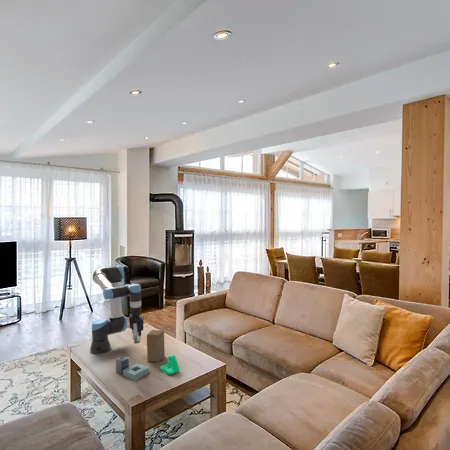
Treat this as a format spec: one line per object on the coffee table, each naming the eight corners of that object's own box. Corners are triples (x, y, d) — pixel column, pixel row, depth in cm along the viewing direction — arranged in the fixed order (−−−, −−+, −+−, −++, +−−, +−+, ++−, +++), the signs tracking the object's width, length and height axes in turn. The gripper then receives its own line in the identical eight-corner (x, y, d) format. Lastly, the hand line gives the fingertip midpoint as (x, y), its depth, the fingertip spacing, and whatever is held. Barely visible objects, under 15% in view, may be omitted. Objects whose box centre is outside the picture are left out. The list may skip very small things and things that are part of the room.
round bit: (132, 342, 227) (132, 323, 226) (137, 340, 230) (136, 321, 230) (136, 344, 225) (136, 324, 224) (141, 342, 228) (140, 322, 227)
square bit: (116, 372, 220) (115, 359, 219) (123, 368, 225) (123, 356, 224) (121, 374, 216) (121, 361, 216) (129, 371, 221) (128, 358, 221)
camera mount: (159, 370, 222) (159, 355, 222) (169, 366, 227) (168, 351, 227) (170, 376, 214) (169, 361, 213) (179, 372, 219) (179, 357, 218)
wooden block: (159, 362, 233) (159, 335, 232) (146, 361, 235) (146, 334, 234) (165, 356, 243) (164, 330, 242) (152, 355, 245) (152, 329, 244)
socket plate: (122, 375, 216) (122, 370, 216) (137, 367, 226) (136, 362, 225) (134, 380, 209) (134, 375, 209) (148, 372, 219) (148, 367, 219)
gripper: (123, 306, 228) (124, 338, 229) (139, 309, 218) (141, 343, 219) (131, 303, 234) (133, 335, 235) (148, 306, 225) (149, 340, 226)
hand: (136, 339), depth 227 cm, fingers closed on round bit, 4 cm apart
